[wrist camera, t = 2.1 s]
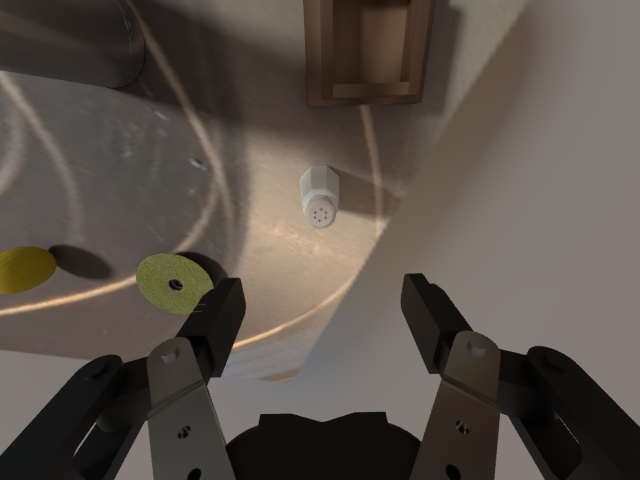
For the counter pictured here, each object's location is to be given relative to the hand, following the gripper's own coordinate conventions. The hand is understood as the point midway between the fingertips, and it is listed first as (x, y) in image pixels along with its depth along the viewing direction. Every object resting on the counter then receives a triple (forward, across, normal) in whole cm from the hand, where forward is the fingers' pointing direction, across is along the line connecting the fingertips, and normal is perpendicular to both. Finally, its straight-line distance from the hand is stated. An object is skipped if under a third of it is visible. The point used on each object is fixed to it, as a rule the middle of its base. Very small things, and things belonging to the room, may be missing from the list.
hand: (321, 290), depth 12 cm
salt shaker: (+22, 0, 0) cm, 22 cm away
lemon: (+22, +40, +9) cm, 46 cm away
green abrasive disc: (+22, +22, +14) cm, 34 cm away
